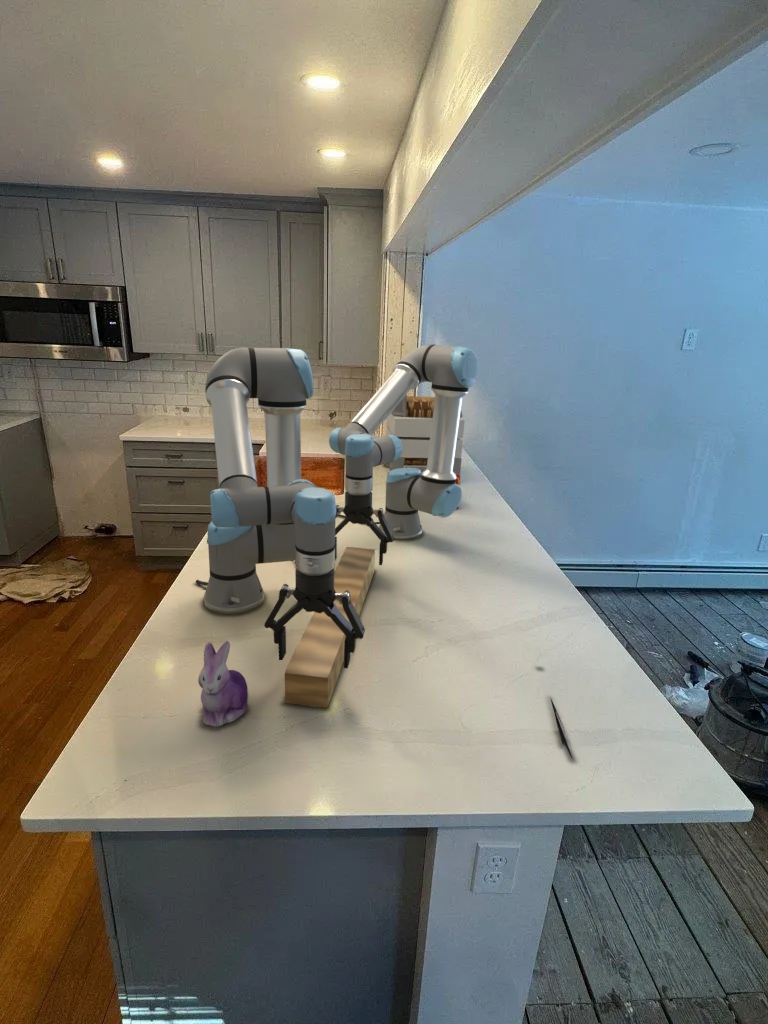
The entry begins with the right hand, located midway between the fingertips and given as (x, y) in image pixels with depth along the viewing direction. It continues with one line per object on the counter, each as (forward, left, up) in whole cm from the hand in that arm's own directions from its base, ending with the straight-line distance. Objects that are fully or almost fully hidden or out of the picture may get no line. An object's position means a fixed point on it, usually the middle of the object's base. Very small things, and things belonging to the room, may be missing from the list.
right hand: (357, 561), depth 163 cm
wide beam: (+17, -19, -6) cm, 26 cm away
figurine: (+30, -56, -6) cm, 64 cm away
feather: (+69, -4, -6) cm, 69 cm away
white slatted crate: (-72, +95, -6) cm, 119 cm away
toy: (-39, +76, -6) cm, 86 cm away
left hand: (+33, -37, 0) cm, 50 cm away
